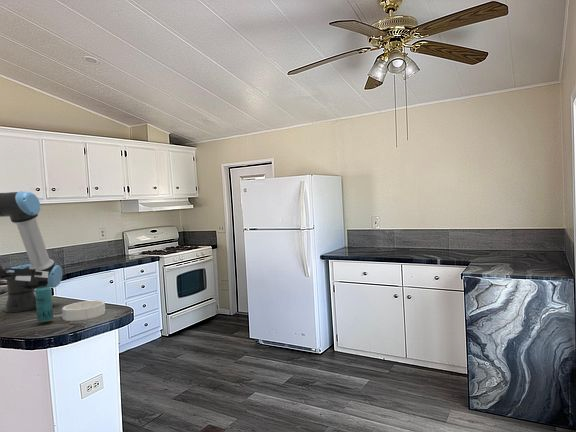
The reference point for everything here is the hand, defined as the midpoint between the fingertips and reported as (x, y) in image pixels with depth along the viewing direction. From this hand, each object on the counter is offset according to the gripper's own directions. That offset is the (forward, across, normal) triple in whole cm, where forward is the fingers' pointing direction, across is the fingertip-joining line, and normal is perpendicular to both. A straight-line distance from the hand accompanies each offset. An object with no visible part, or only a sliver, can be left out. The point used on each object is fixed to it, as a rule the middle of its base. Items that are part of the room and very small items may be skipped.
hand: (39, 276), depth 190 cm
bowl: (+20, +7, -18) cm, 27 cm away
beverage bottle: (+6, 0, -21) cm, 22 cm away
